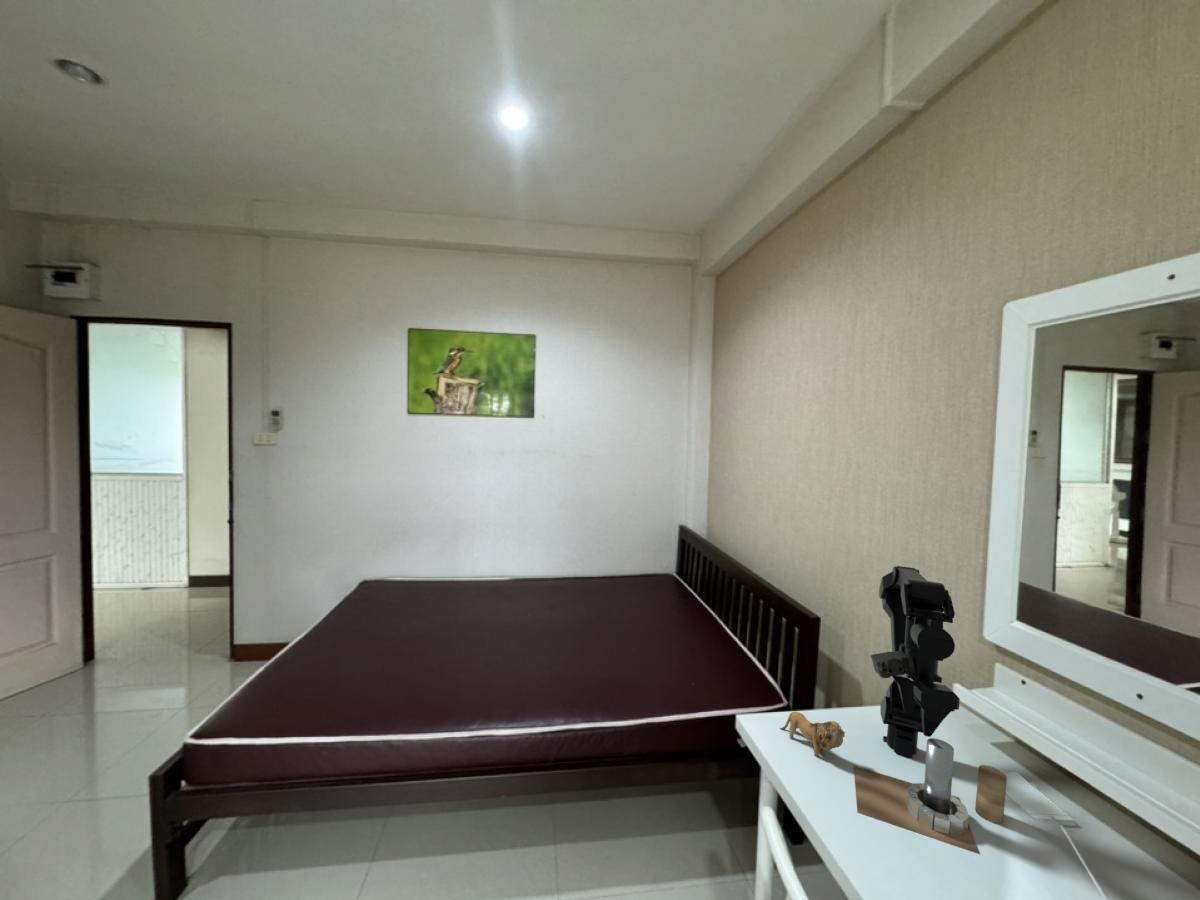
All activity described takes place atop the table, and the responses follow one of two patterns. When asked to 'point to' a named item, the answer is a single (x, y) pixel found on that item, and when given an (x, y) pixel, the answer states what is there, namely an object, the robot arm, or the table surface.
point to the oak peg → (991, 794)
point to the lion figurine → (816, 732)
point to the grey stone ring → (934, 820)
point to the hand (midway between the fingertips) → (916, 724)
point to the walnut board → (898, 806)
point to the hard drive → (1034, 800)
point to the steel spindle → (938, 776)
